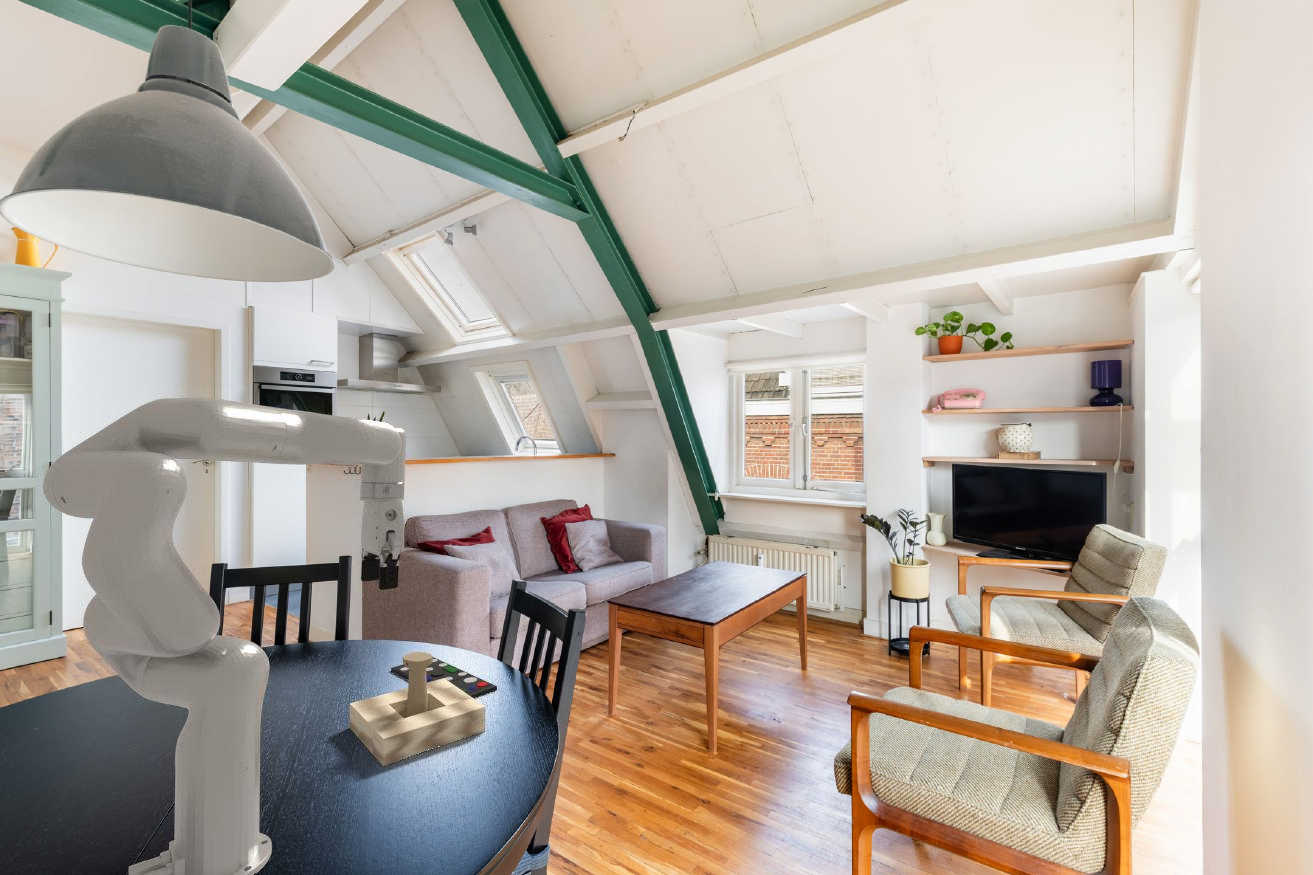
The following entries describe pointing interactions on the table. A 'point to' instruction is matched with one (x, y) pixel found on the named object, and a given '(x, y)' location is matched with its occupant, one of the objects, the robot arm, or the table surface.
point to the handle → (417, 682)
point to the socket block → (415, 721)
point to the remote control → (451, 677)
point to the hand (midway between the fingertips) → (378, 584)
